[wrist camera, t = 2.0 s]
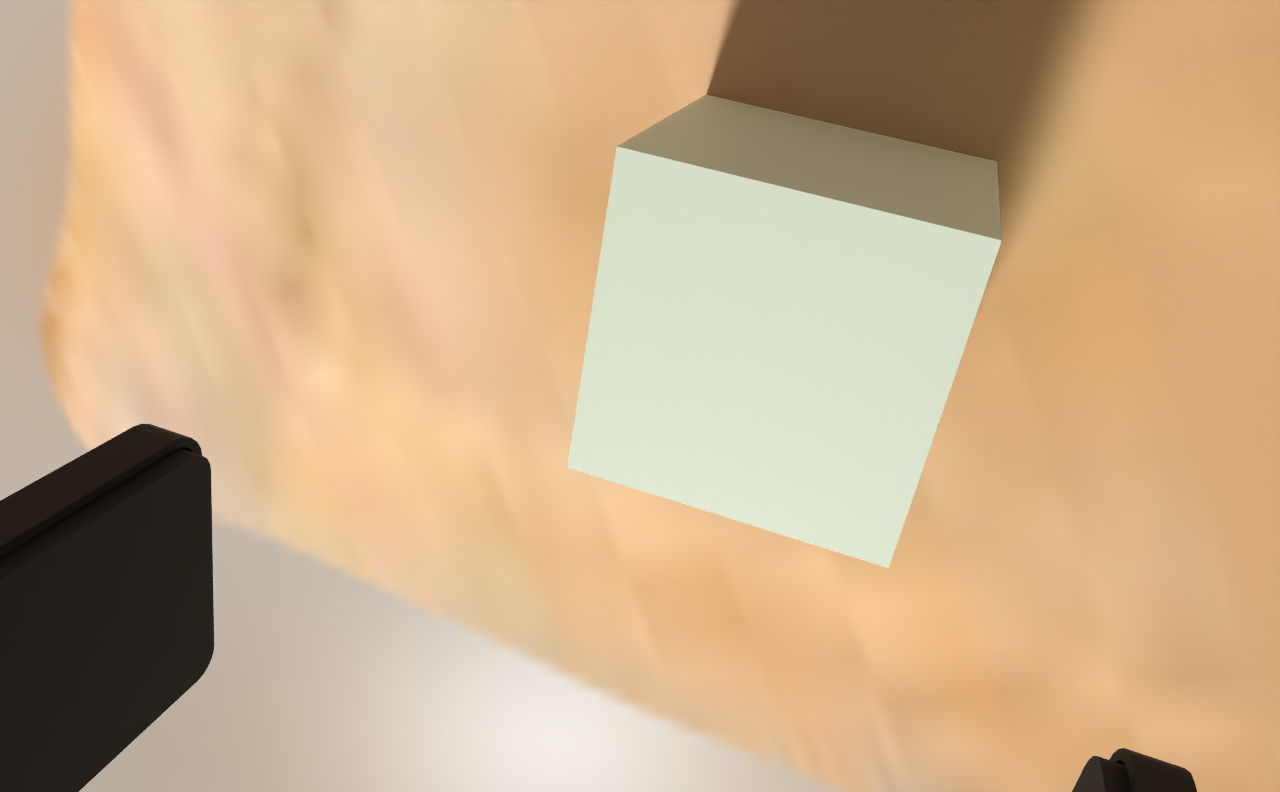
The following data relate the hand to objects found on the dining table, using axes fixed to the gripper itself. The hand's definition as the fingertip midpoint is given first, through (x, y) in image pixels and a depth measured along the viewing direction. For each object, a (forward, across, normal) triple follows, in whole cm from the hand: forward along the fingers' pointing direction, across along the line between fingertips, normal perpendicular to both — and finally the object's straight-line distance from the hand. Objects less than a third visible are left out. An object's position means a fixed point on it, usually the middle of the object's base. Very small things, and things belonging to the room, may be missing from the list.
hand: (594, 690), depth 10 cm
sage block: (+14, 0, -1) cm, 14 cm away
